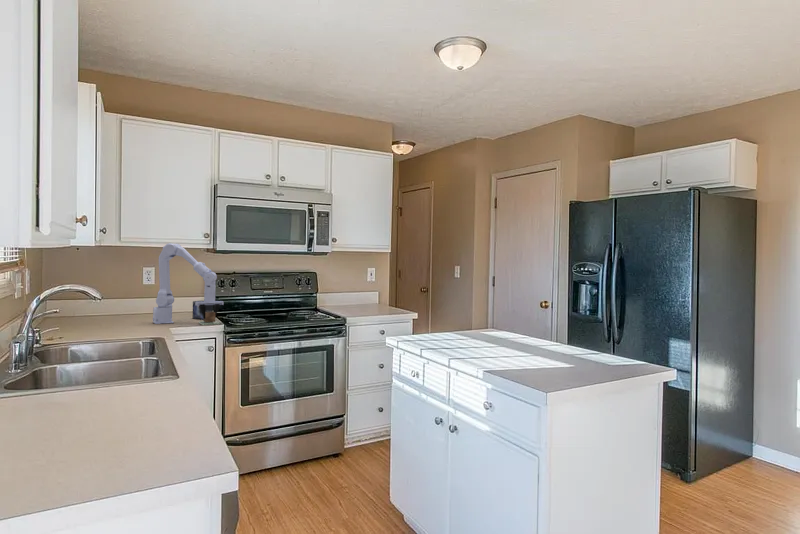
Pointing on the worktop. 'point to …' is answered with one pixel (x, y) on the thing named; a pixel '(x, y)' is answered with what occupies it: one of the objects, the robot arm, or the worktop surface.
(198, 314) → the small box
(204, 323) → the plate
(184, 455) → the worktop surface
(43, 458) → the worktop surface
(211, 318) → the walnut cube
